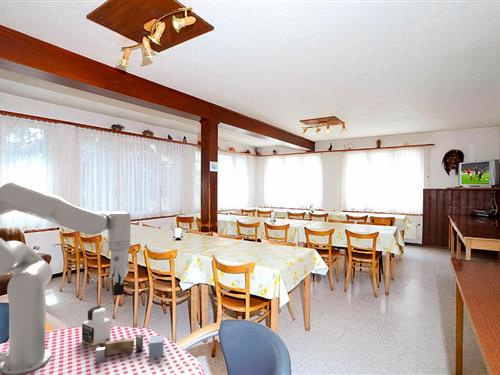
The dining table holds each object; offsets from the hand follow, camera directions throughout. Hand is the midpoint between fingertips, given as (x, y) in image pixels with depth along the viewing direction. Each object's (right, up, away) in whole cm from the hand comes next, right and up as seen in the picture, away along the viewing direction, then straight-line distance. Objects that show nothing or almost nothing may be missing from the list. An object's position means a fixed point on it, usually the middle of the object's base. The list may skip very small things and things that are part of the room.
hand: (118, 294), depth 105 cm
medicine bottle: (-11, -19, +4) cm, 22 cm away
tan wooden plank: (+2, -19, -5) cm, 19 cm away
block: (+15, -19, -4) cm, 25 cm away
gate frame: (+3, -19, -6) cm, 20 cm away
